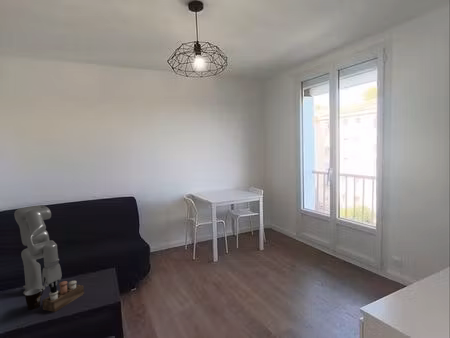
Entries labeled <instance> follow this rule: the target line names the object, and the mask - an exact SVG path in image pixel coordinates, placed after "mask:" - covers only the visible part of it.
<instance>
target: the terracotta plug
mask: <svg viewBox="0 0 450 338" xmlns="http://www.w3.org/2000/svg"><path fill="white" fill-rule="evenodd" d="M58 285H59V291H60V294H61V295H64V294H66V293H67V286H68V281H67V280H63V281H60V282H58Z"/></svg>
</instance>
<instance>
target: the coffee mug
mask: <svg viewBox="0 0 450 338" xmlns="http://www.w3.org/2000/svg"><path fill="white" fill-rule="evenodd" d="M41 290H42V292H41ZM43 294H44V290H43V289H39V288H37V289H32V290H29V291H27V292H26V293H25V295H24V298H25V302H26V306H27V309H28V310H27V311H34V310H36V309H38V308H40V306H41V301H42V300H41V299H42V295H43Z"/></svg>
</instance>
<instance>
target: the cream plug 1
mask: <svg viewBox="0 0 450 338" xmlns="http://www.w3.org/2000/svg"><path fill="white" fill-rule="evenodd" d="M58 291H59V290H57V292H55V293H51V291H50V292H49V293H48V296H50V300H53V301H54V300H56V299H57V298H58Z"/></svg>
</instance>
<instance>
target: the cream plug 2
mask: <svg viewBox="0 0 450 338" xmlns="http://www.w3.org/2000/svg"><path fill="white" fill-rule="evenodd" d="M67 285H68V286H69V288H70V289H71V290H73V289H75V288H76V285H77V280H70V281H68V282H67Z"/></svg>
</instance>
